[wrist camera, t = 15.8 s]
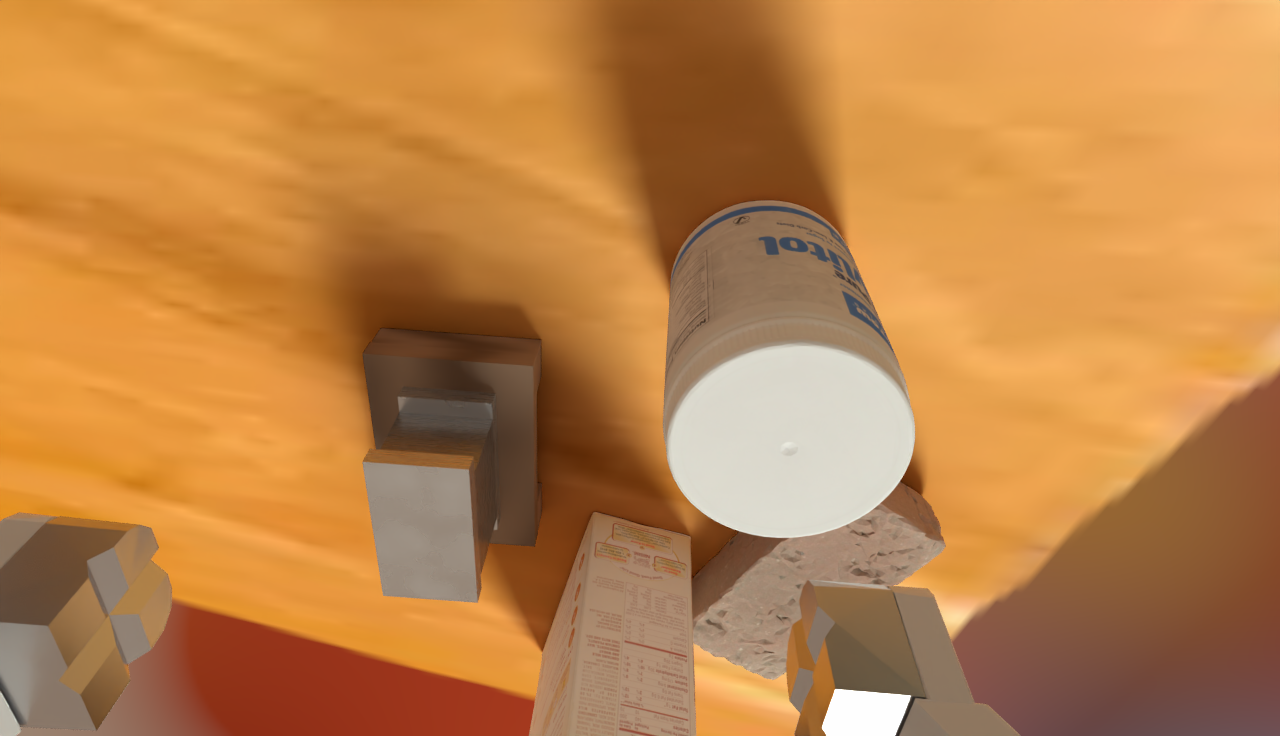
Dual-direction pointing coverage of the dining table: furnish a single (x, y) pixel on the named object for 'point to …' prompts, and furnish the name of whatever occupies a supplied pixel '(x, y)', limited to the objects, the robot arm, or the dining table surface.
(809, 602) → the robot arm
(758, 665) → the brick
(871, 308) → the supplement tub
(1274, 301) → the dining table surface
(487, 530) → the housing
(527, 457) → the stand
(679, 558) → the coffeecake box
